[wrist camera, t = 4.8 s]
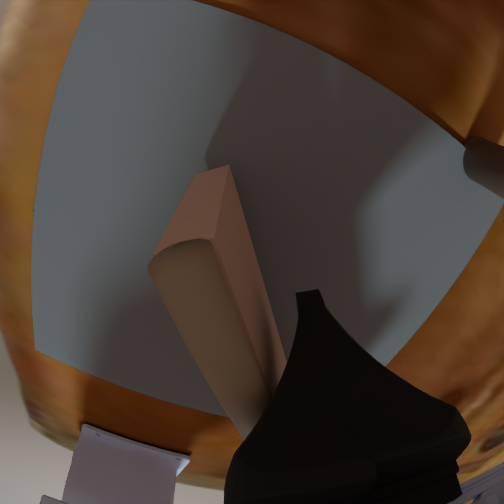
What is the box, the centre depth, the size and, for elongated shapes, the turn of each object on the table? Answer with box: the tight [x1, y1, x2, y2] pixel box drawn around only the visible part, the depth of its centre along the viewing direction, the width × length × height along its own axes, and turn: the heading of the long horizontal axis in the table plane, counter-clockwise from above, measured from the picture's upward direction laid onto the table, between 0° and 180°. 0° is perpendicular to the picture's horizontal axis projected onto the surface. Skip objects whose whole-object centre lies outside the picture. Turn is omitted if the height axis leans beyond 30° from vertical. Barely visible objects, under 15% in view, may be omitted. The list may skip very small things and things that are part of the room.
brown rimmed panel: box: [148, 165, 287, 440], centre depth 11 cm, size 14×1×7 cm, turn 15°
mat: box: [31, 0, 504, 418], centre depth 14 cm, size 20×20×1 cm
